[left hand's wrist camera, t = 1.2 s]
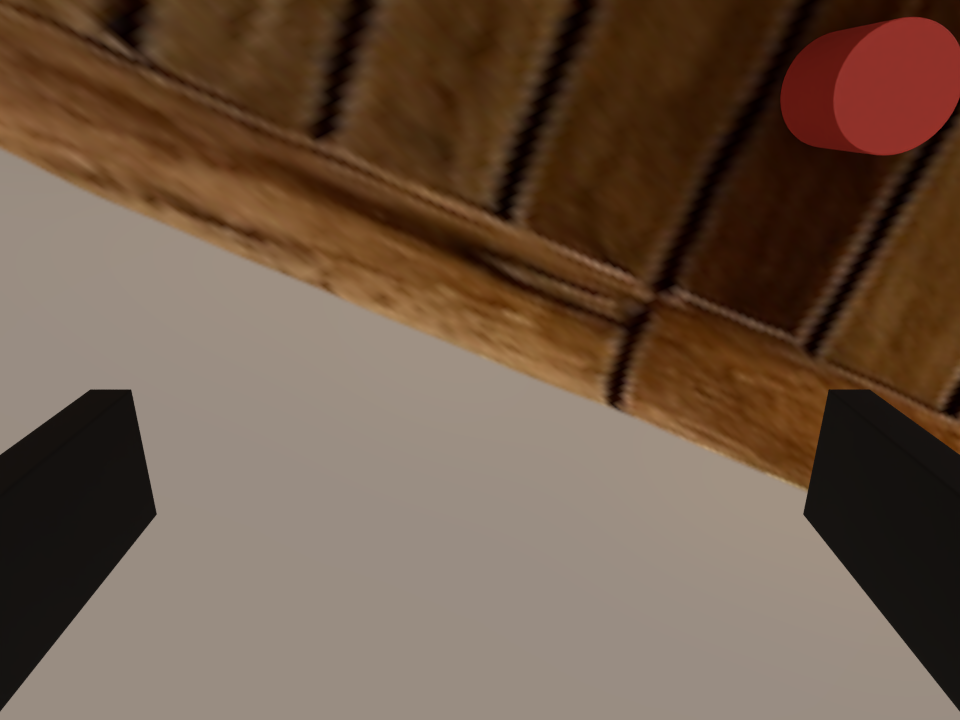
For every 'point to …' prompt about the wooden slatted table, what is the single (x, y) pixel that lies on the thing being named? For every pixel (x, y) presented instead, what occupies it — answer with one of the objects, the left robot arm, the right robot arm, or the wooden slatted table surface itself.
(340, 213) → the wooden slatted table surface
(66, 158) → the wooden slatted table surface
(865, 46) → the canister
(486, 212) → the wooden slatted table surface
